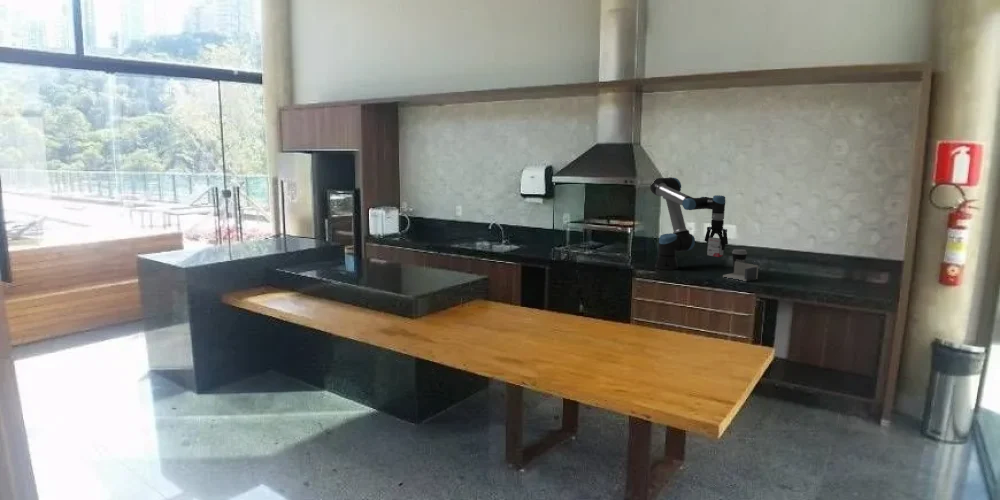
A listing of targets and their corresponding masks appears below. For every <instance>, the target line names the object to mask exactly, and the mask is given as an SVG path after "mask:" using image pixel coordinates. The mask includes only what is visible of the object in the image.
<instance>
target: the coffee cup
mask: <svg viewBox="0 0 1000 500" xmlns="http://www.w3.org/2000/svg"><path fill="white" fill-rule="evenodd" d="M731 254H732V273H734V264H735V261H737V262H742V263H746V259H747V255H748V252H747V250H746V249H744V248H743V249H740V248H734V249H733V250H732V251H731Z"/></svg>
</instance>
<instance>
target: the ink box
mask: <svg viewBox="0 0 1000 500" xmlns="http://www.w3.org/2000/svg"><path fill="white" fill-rule="evenodd" d="M720 245H722V244H721V240H720V238H719V237H715V236H713V237H712V238H709V240H708V247H707V249H708V253H707V256H711V257H716V258H721V257H723V255H724V254H723V255H720Z"/></svg>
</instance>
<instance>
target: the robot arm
mask: <svg viewBox="0 0 1000 500" xmlns="http://www.w3.org/2000/svg"><path fill="white" fill-rule="evenodd" d="M655 179H656V180H655ZM655 179H654V180H655V181H654V183H653V184H652V185H651V184H650V188H649V189H650V191H651V193H652V194H653V195H656V196H657V197H662V199H664V200H665V202H666V206H667V210H668V213H669V218H670V223H671V227H672V230H673V232H672V233H663V234H661V235H660V236H659V239H658V256H657V259H656V262H655V265H654V267H655V268H656V269H659V270H667V271H671V270H672V271H673V270H678V269H679V264H678V261H677V260H678V259H677V256H676V255H677V253H679V252H680V253H681V252H687V251H688V252H689V251H691V250H692V249H693V248H694V247H695V243H696V240H695V236H694V235H693V234H692V233H690V230H689V229H687V227H686V223H685V219H684V215H683V210H682V208H683V209H684V210H686V211H695V210H711V223H710V225H711V226H707V227H706V234H705V237H704V240H703V241H704V242H706V248H707V251H706V253H707V254H708V240H709V238H712V237H715V234H716V235H717V236H718V238H720V240H721V244H722V245H720V255H724V251H725V248H726V246H727V245H728V244H729V242H728V241H729V240H728V234H727V233H728V229H727V228H724V226H725V225H724V224H725V223H724V221H725V209H726V197H725V195H719V194H718V195H713V197H709V196H701V197H692V196H690V195H688V194H685V193H684V192H681V191H682V184H681V181H680V180H679V179H678V178H676V177H657V178H655ZM681 206H682V208H681Z"/></svg>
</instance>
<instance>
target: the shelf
mask: <svg viewBox="0 0 1000 500" xmlns="http://www.w3.org/2000/svg"><path fill="white" fill-rule="evenodd" d="M724 277H727V278H726V279H728V278H733V279H739V280H743V281H748V282H751V281H750V280H752V281H756V279H757V280H758V277H759V265H758V264H752V263H748V262H745V263H742V262H737V261H735V264H734V272H731V273H726V274H722V278H724ZM733 279H732V280H733Z"/></svg>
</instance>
